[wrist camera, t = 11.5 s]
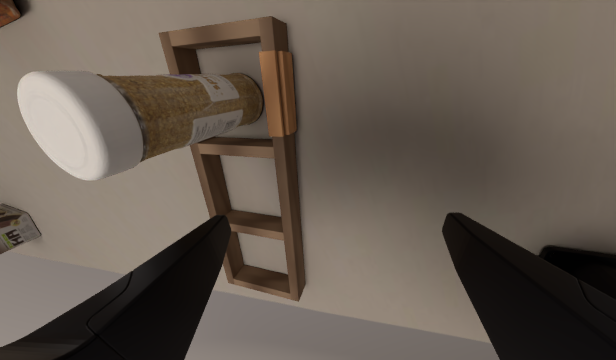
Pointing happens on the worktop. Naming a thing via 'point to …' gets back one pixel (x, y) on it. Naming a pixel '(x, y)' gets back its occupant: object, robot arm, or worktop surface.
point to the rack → (251, 149)
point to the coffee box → (15, 228)
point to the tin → (8, 12)
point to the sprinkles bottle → (129, 115)
